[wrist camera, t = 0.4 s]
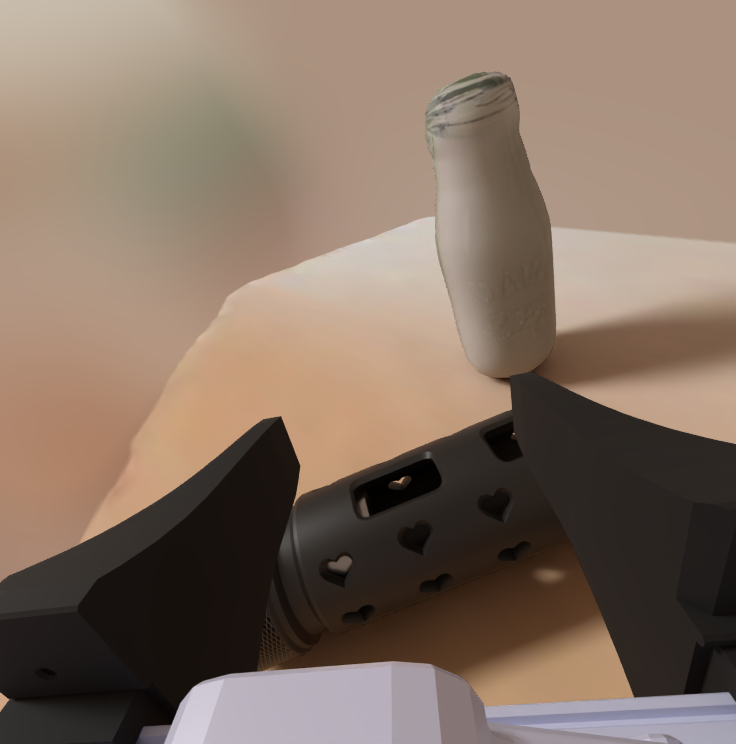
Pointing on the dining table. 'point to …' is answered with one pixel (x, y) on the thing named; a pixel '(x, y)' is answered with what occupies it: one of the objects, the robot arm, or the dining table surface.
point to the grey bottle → (491, 226)
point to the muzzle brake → (404, 535)
